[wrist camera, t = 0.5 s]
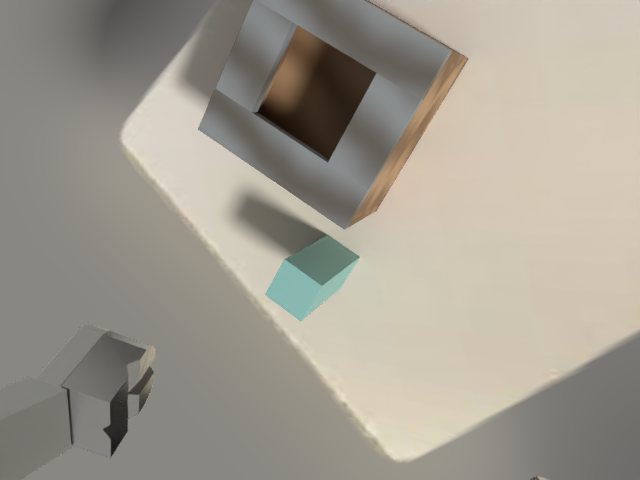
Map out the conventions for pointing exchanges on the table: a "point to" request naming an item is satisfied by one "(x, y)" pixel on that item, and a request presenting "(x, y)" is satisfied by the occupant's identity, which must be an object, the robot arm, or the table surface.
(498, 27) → the table surface
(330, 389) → the table surface
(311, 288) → the block
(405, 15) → the table surface
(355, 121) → the drop box
